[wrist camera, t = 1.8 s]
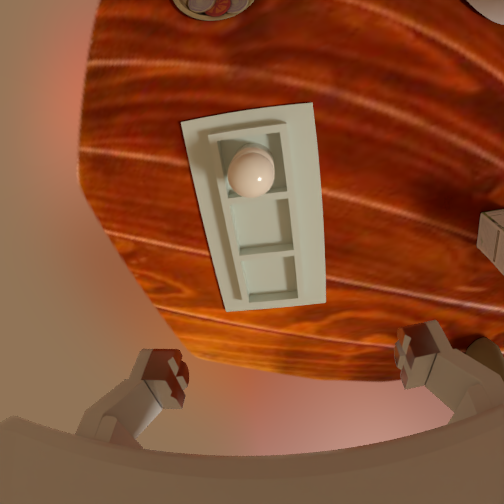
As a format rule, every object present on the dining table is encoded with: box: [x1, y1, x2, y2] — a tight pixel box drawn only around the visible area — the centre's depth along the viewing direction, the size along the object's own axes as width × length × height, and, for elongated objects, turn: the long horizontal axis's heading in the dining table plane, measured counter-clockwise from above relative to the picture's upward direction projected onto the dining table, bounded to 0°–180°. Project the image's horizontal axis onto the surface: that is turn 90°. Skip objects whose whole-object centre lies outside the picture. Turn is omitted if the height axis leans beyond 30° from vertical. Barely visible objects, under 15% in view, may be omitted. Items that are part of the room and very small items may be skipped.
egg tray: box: [181, 103, 326, 312], centre depth 36 cm, size 26×14×2 cm, turn 9°
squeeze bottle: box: [466, 337, 504, 382], centre depth 39 cm, size 8×8×18 cm
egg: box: [227, 143, 275, 198], centre depth 30 cm, size 4×4×7 cm
